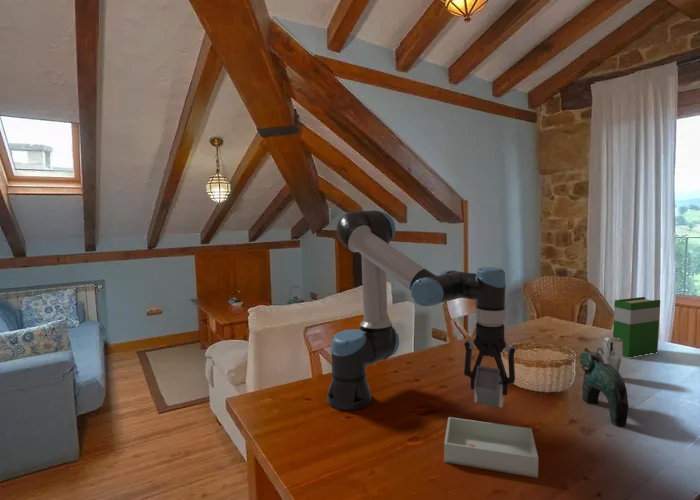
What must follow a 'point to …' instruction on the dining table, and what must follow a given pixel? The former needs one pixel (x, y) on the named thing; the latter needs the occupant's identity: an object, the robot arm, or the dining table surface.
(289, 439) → the dining table surface
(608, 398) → the teal animal figurine
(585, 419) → the dining table surface
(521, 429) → the tray
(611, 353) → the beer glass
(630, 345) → the hardback book
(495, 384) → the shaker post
